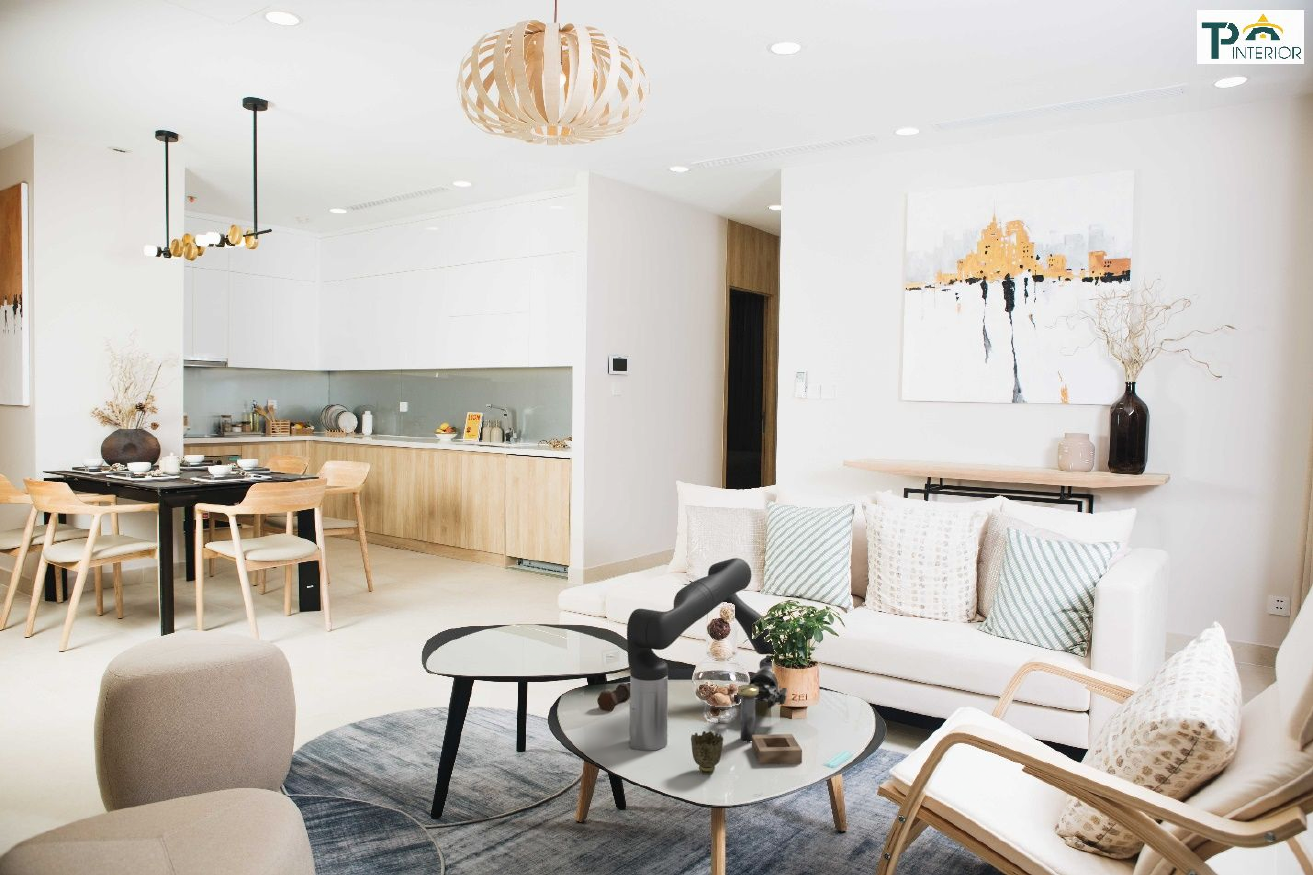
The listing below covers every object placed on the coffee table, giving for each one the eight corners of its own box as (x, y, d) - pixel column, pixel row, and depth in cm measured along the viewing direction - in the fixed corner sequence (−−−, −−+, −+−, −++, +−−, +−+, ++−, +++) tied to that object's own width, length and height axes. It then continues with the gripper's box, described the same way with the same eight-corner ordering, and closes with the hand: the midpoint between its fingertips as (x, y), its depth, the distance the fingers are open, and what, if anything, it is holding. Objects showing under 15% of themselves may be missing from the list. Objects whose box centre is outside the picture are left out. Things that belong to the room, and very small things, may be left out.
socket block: (759, 764, 207) (760, 751, 207) (751, 747, 217) (751, 735, 217) (801, 762, 208) (802, 750, 208) (791, 745, 218) (791, 733, 217)
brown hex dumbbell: (633, 701, 254) (607, 716, 241) (619, 690, 256) (593, 704, 243) (642, 685, 253) (617, 699, 240) (628, 674, 255) (603, 687, 241)
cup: (699, 780, 198) (699, 745, 197) (685, 767, 205) (685, 733, 204) (728, 774, 201) (729, 740, 200) (713, 762, 208) (714, 729, 207)
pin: (739, 743, 219) (739, 691, 218) (735, 735, 224) (736, 685, 223) (760, 743, 219) (760, 691, 219) (755, 734, 225) (756, 684, 224)
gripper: (740, 666, 244) (726, 684, 229) (792, 672, 240) (780, 690, 225) (740, 693, 245) (725, 713, 229) (791, 699, 240) (780, 720, 225)
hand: (753, 702), depth 227 cm, fingers open, 8 cm apart
